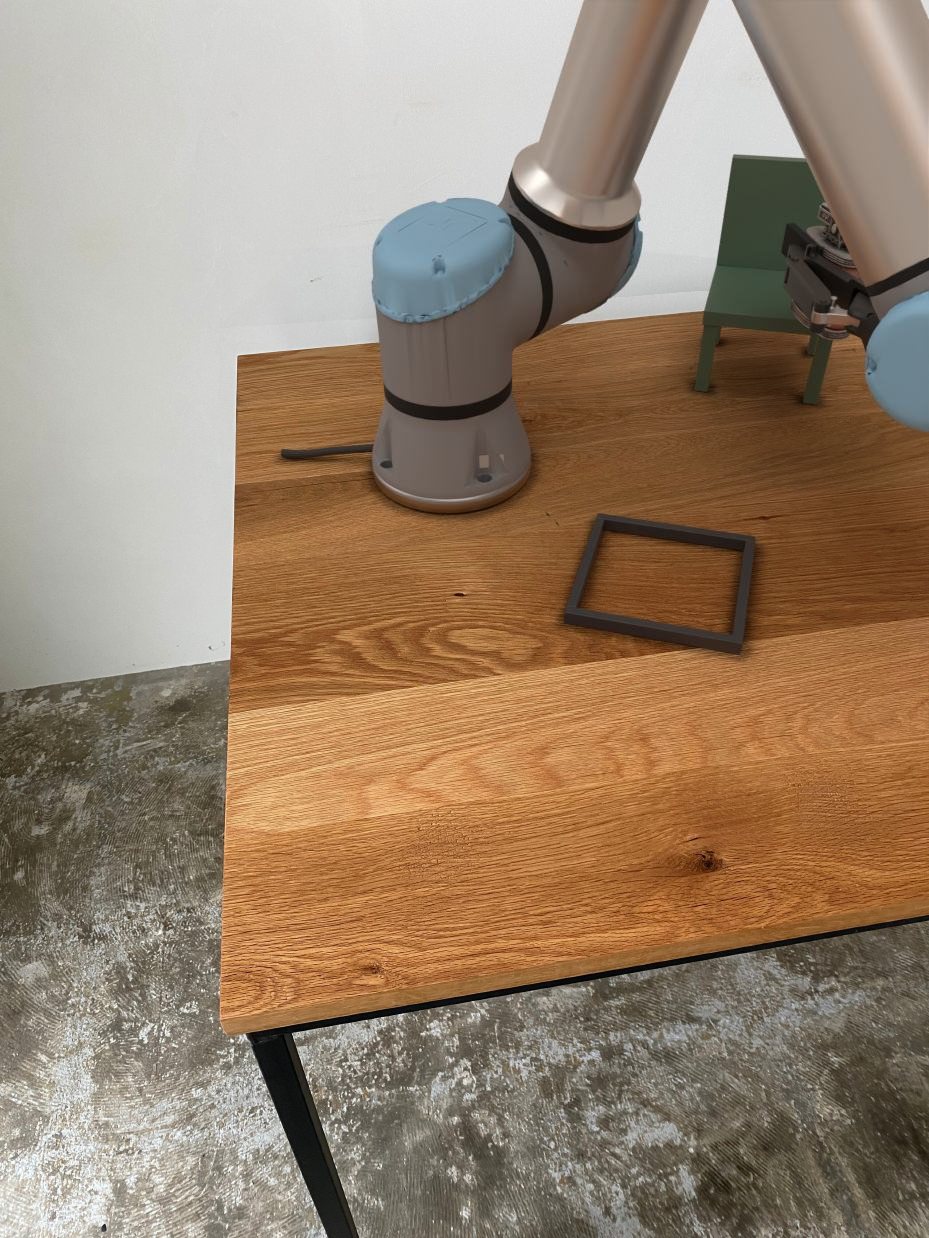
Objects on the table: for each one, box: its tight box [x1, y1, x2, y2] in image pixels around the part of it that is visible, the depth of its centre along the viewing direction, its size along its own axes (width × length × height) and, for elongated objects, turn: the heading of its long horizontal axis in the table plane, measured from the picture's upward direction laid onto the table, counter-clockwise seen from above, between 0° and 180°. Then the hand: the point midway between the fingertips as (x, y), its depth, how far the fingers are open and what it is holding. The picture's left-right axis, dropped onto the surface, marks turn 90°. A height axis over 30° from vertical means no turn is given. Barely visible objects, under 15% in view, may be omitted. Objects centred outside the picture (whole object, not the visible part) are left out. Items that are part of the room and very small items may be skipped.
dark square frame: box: [563, 512, 757, 655], centre depth 77 cm, size 14×14×1 cm
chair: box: [694, 153, 834, 406], centre depth 96 cm, size 13×13×20 cm
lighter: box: [790, 203, 860, 341], centre depth 85 cm, size 8×3×10 cm, turn 13°
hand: (809, 236), depth 88 cm, fingers closed on lighter, 3 cm apart
